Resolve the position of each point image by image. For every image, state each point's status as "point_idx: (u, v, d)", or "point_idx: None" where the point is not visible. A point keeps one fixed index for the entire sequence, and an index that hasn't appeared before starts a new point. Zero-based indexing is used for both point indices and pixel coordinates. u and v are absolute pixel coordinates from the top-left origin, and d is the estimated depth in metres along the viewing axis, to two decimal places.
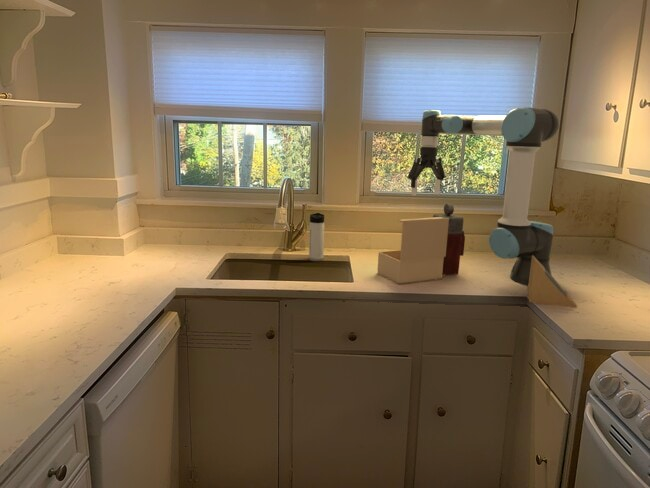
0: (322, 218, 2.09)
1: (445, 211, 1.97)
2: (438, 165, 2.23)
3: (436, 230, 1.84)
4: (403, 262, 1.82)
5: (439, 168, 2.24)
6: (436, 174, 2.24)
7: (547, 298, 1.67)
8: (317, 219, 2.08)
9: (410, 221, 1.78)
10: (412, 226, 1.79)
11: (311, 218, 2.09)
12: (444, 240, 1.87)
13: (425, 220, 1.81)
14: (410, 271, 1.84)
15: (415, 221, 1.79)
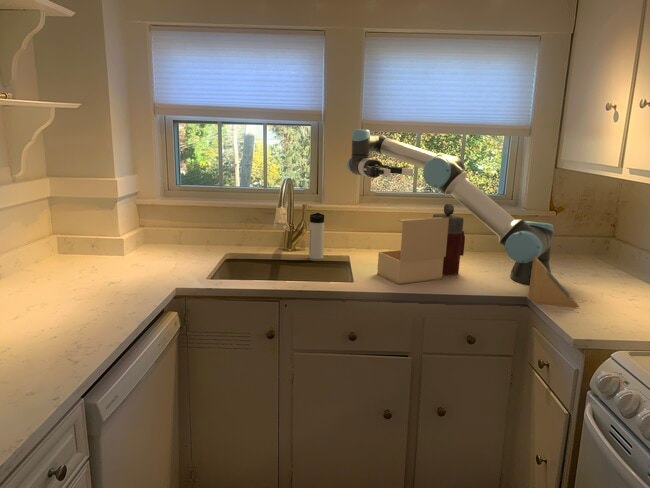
0: (322, 218, 2.09)
1: (445, 211, 1.97)
2: None
3: (436, 230, 1.84)
4: (403, 262, 1.82)
5: None
6: (396, 170, 1.98)
7: (549, 299, 1.66)
8: (317, 219, 2.08)
9: (410, 221, 1.78)
10: (412, 226, 1.79)
11: (311, 218, 2.09)
12: (444, 240, 1.87)
13: (425, 220, 1.81)
14: (410, 271, 1.84)
15: (415, 221, 1.79)
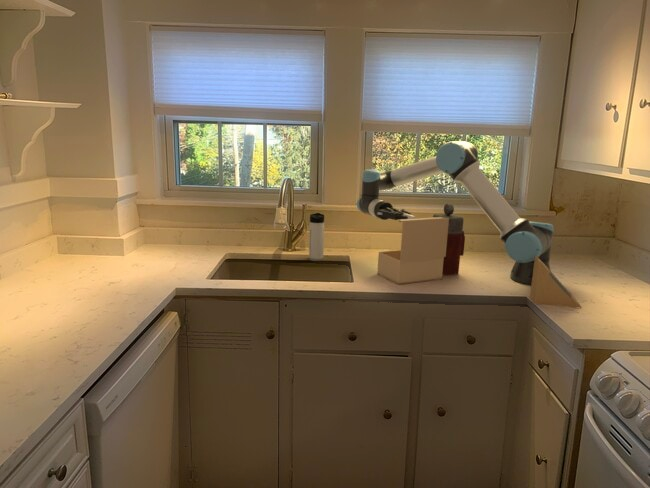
0: (322, 218, 2.09)
1: (445, 211, 1.97)
2: None
3: (436, 230, 1.84)
4: (403, 262, 1.82)
5: None
6: None
7: (551, 299, 1.66)
8: (317, 219, 2.08)
9: (410, 221, 1.78)
10: (412, 226, 1.79)
11: (311, 218, 2.09)
12: (444, 240, 1.87)
13: (425, 220, 1.81)
14: (410, 271, 1.84)
15: (415, 221, 1.79)
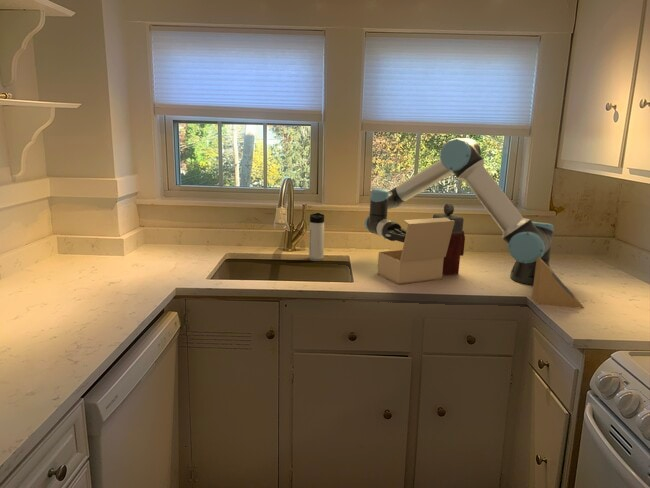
0: (322, 218, 2.09)
1: (445, 211, 1.97)
2: None
3: (440, 232, 1.82)
4: (403, 262, 1.82)
5: None
6: None
7: (554, 299, 1.66)
8: (317, 219, 2.08)
9: (415, 224, 1.76)
10: (417, 229, 1.77)
11: (311, 218, 2.09)
12: (446, 242, 1.86)
13: (430, 223, 1.78)
14: (410, 271, 1.84)
15: (420, 224, 1.77)
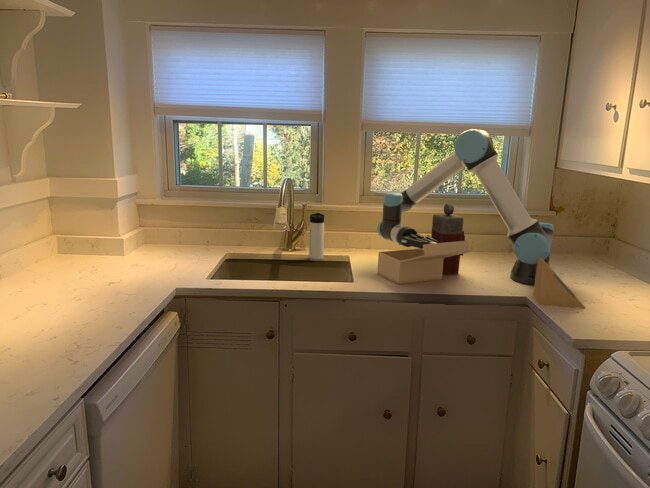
0: (322, 218, 2.09)
1: (445, 211, 1.97)
2: None
3: None
4: (403, 262, 1.82)
5: None
6: None
7: (555, 300, 1.65)
8: (317, 219, 2.08)
9: (430, 256, 1.69)
10: (430, 256, 1.71)
11: (311, 218, 2.09)
12: (453, 255, 1.83)
13: (446, 254, 1.72)
14: (410, 271, 1.84)
15: (435, 255, 1.70)
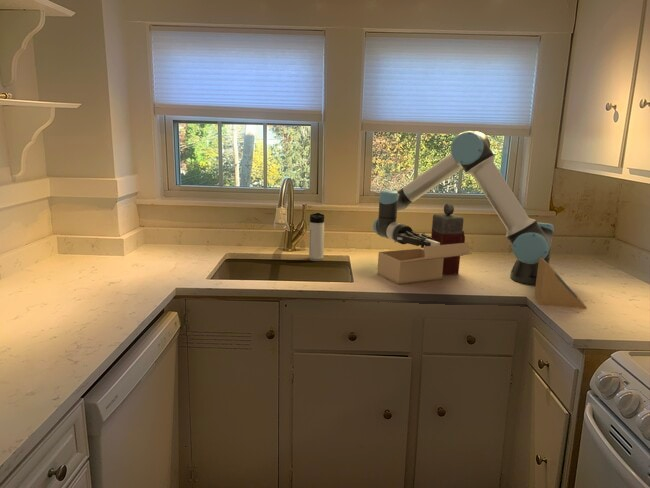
0: (322, 218, 2.09)
1: (445, 211, 1.97)
2: None
3: (451, 256, 1.78)
4: (403, 262, 1.82)
5: None
6: None
7: (557, 300, 1.65)
8: (317, 219, 2.08)
9: (431, 258, 1.69)
10: (430, 258, 1.71)
11: (311, 218, 2.09)
12: (453, 256, 1.83)
13: (446, 256, 1.72)
14: (410, 271, 1.84)
15: (436, 257, 1.70)
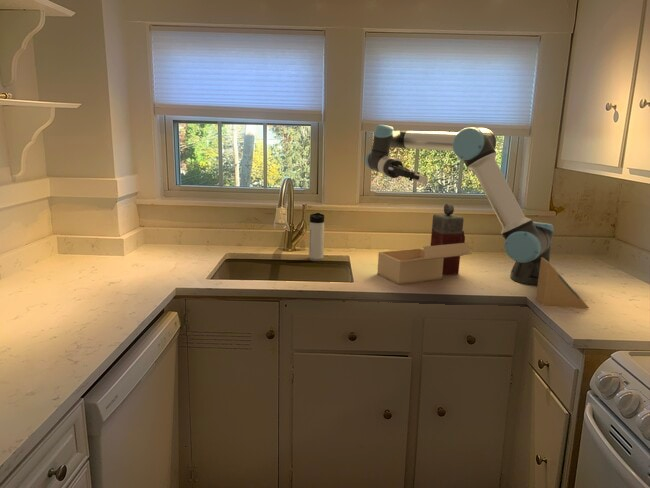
0: (322, 218, 2.09)
1: (445, 211, 1.97)
2: None
3: (451, 256, 1.78)
4: (403, 262, 1.82)
5: None
6: None
7: (560, 301, 1.65)
8: (317, 219, 2.08)
9: (431, 258, 1.69)
10: (430, 258, 1.71)
11: (311, 218, 2.09)
12: (453, 256, 1.83)
13: (446, 256, 1.72)
14: (410, 271, 1.84)
15: (436, 257, 1.70)
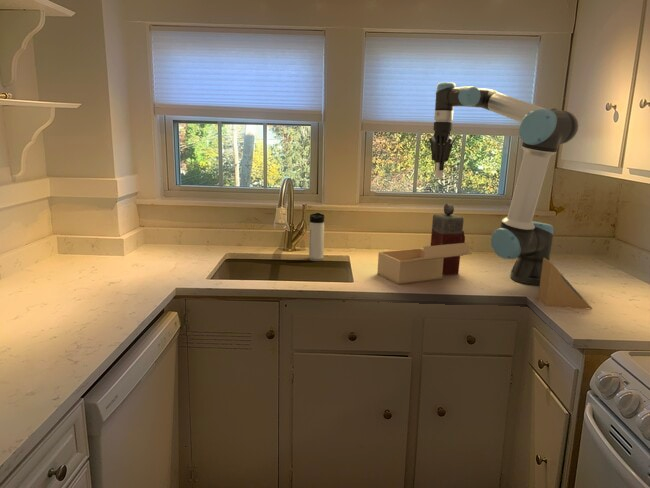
0: (322, 218, 2.09)
1: (445, 211, 1.97)
2: (435, 145, 2.13)
3: (451, 256, 1.78)
4: (403, 262, 1.82)
5: (435, 148, 2.13)
6: (439, 154, 2.11)
7: (563, 301, 1.64)
8: (317, 219, 2.08)
9: (431, 258, 1.69)
10: (430, 258, 1.71)
11: (311, 218, 2.09)
12: (453, 256, 1.83)
13: (446, 256, 1.72)
14: (410, 271, 1.84)
15: (436, 257, 1.70)
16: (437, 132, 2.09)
